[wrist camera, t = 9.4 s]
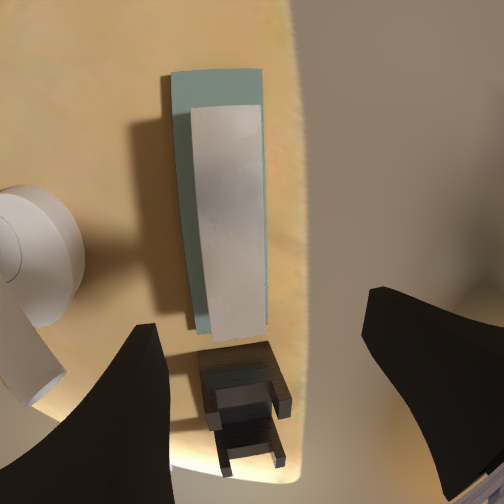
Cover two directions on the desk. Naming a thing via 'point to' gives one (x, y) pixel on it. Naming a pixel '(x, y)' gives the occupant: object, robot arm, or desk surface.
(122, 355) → the robot arm
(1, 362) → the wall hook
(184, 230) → the rubber mat
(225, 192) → the silver rail
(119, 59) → the desk surface
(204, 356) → the dark grey slotted rack
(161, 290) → the desk surface
